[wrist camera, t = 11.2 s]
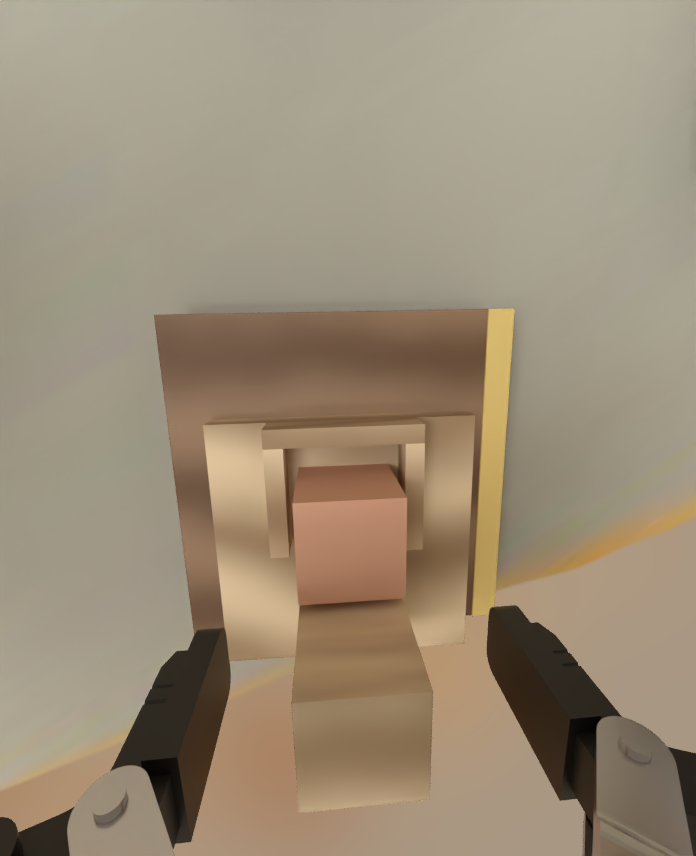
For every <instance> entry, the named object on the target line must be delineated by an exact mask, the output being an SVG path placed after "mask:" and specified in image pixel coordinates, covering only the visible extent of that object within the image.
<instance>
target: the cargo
mask: <svg viewBox="0 0 696 856" xmlns="http://www.w3.org/2000/svg"><path fill="white" fill-rule="evenodd" d="M292 506H293V523H294V541H295V559H296V576H297V594H298V605H312V604H327V603H343V602H358V601H373V600H388V599H403V598H406V553H407V497H406V495H405V493H404V491H403V490H402V488H401V486H400V484H399V483H398V481H397V479H396V477H395V476H394V474H393V472H392V470H391V469H390V467H389V465H388V463H387V464H363V465H340V466H316V467H299V470H298V476H297V481H296V486H295V492H294V497H293V503H292Z"/></svg>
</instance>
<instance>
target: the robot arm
mask: <svg viewBox="0 0 696 856" xmlns="http://www.w3.org/2000/svg"><path fill="white" fill-rule="evenodd" d="M487 657H488V662H489V665H490V668H491V671H492V673H493V675H494V677H495V679H496V681H497V683H498V685H499V687H500V688H501V690H502V692H503V694H504V696H505V698H506V700H507V702H508V703H509V705H510V707H511V709H512V711H513V713H514V715H515V717H516V719H517V720H518V722H519V724H520V726H521V728H522V730H523V732H524V734H525V736H526V737H527V739H528V741H529V743H530V745H531V747H532V749H533V751H534V753H535V754H536V756H537V758H538V760H539V762H540V764H541V766H542V767H543V769H544V771H545V773H546V775H547V777H548V779H549V781H550V783H551V785H552V787H553V788H554V790H555V792H556V794H557V796H558V798H559V800H569V799H578V801H579V803H580V804H581V806H582V808H583V810H584V811H585V813H584V821H583V853H582V856H696V753H691V752H687V751H682V750H678V749H673V748H670V747H667V746H666V745H665V743H664V742H663V741H662V740H661V739H660V738H659V737H658V736H656V735H655V734H654V733H653V732H652V731H650V730H649V729H647V728H646V727H644V726H643V725H641V724H639V723H637V722H635V721H633V720H630V719H627V718H624V717H622V716H621V715H620V714H619V713H618V711H617V710H616V709H615V708H614V707H613V705H612V704H611V703H610V702H609V701H608V699H607V698H606V697H605V696H604V694H603V693H602V692H601V691H600V689H599V688H598V687H597V686H596V685H595V683H594V682H593V681H592V680H591V679H590V677H589V676H588V675H587V674H586V672H585V671H584V670H583V669H582V667H581V666H578V662H577V661H576V660H575V659H574V658H573V656H572V655H571V654H570V653H568V652H567V649H566V648H565V647H564V645H563V644H562V643H561V642H560V640H559V639H558V638H557V637H556V636H555V635H554V634H553V633H552V632H550V631H549V630H547V629H546V628H545V627H543V626H542V625H541V624H539V623H530V622H529V620H528V619H527V618H526V616H525V615H524V614H523V612H522V611H521V610H520V609H519V607H517V606H515V605H514V606H501V607H491V608H490V610H489V621H488V637H487ZM230 678H231V674H230V663H229V654H228V646H227V637H226V631H225V628H213V629H201V630H197V631H196V633H195V635H194V637H193V640H192V642H191V644H190V647H189V649H188V651H176V652H175V654H174V655H173V656H172V657H171V658H170V659H169V660H168V661H167V662H166V663H165V664H164V665H163V666H162V667H161V669H160V671H159V673H158V675H157V677H156V679H155V681H154V684H153V686H152V689H151V690H150V692H149V694H148V696H147V698H146V700H145V704H144V705H143V706H142V708H141V710H140V712H139V714H138V716H137V718H136V720H135V722H134V724H133V727H132V729H131V731H130V733H129V735H128V737H127V739H126V741H125V743H124V745H123V747H122V749H121V751H120V753H119V755H118V757H117V759H116V761H115V763H114V765H113V767H112V769H111V771H110V772H108V773H107V774H105V775H103V776H102V777H101V778H99V779H98V780H97V781H95V782H94V783H93V784H92V785H91V786H90V787H89V788H88V789H87V790H86V791H85V792H84V794H83V795H82V796H81V797H80V799H79V800H78V802H77V803H76V805H75V807H73V808H72V809H70V810H68V811H66V812H64V813H62V814H60V815H58V816H56V817H53V818H51V819H49V820H46V821H44V822H42V823H39V824H37V825H35V826H33V827H30V828H28V829H25V830H23V831H21V832H18V830H17V827H16V824H15V823H14V822H13V821H12V820H11V819H9V818H4V817H0V856H175V854H174V851H173V849H174V845H175V844H176V843H184V842H191V840H192V836H193V832H194V828H195V824H196V820H197V816H198V812H199V809H200V805H201V801H202V797H203V793H204V789H205V785H206V781H207V777H208V773H209V769H210V766H211V762H212V758H213V754H214V750H215V746H216V742H217V739H218V735H219V731H220V727H221V723H222V719H223V715H224V711H225V707H226V703H227V700H228V696H229V690H230Z"/></svg>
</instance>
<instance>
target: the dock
mask: <svg viewBox="0 0 696 856" xmlns="http://www.w3.org/2000/svg"><path fill="white" fill-rule="evenodd" d="M514 311H515V309H471V310H412V311H352V312H293V313H233V314H173V315H154V319H155V327H156V335H157V343H158V351H159V359H160V367H161V375H162V383H163V391H164V399H165V406H166V414H167V422H168V430H169V438H170V446H171V454H172V462H173V470H174V478H175V486H176V493H177V501H178V509H179V517H180V525H181V533H182V541H183V549H184V557H185V565H186V573H187V581H188V588H189V596H190V604H191V612H192V620H193V628H194V634H195V633H196V631H197V630H201V629H213V628H225V627H224V617H223V608H222V599H221V589H220V580H219V571H218V561H217V552H216V543H215V534H214V524H213V515H212V506H211V496H210V487H209V478H208V468H207V459H206V450H205V440H204V431H203V425H204V424H205V423H207V422H208V421H210V420H223V419H251V418H279V417H308V416H336V415H364V414H392V413H421V412H449V411H467V412H469V413H471V414H474V415H475V434H474V454H473V474H472V495H471V515H470V535H469V556H468V576H467V596H466V615H472V616H483V615H489V610H490V608H491V607H494V602H495V588H496V574H497V559H498V545H499V530H500V515H501V501H502V486H503V471H504V457H505V442H506V428H507V413H508V398H509V384H510V369H511V354H512V340H513V325H514Z"/></svg>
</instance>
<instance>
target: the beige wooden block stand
mask: <svg viewBox="0 0 696 856" xmlns="http://www.w3.org/2000/svg"><path fill="white" fill-rule="evenodd" d="M203 431H204V440H205V450H206V459H207V468H208V478H209V487H210V496H211V506H212V515H213V524H214V534H215V543H216V552H217V561H218V571H219V580H220V589H221V599H222V608H223V617H224V627H225V631H226V637H227V646H228V654H229V661H240V660H253V659H267V658H280V657H293V656H295V666H294V678H293V691H292V703H291V704H292V719H293V735H294V749H295V764H296V779H297V794H298V808H299V813H303V812H312V811H322V810H332V809H341V808H351V807H361V806H371V805H380V804H391V803H401V802H411V801H420V800H429V799H430V776H431V741H432V739H431V738H432V708H433V690H432V687H431V684H430V681H429V678H428V675H427V672H426V668H425V666H424V662H423V659H422V656H421V653H420V650H419V647H425V646H438V645H452V644H463V643H464V637H465V636H464V635H465V616H466V596H467V576H468V556H469V535H470V515H471V495H472V474H473V454H474V434H475V415H474V414H471V413H469V412H467V411H449V412H421V413H392V414H364V415H336V416H308V417H279V418H251V419H223V420H210V421H208V422H207V423H205V424H204V425H203ZM387 463H388V465H389V467H390V469H391V470H392V472H393V474H394V476H395V477H396V479H397V481H398V483H399V484H400V486H401V488H402V490H403V491H404V493H405V495H406V497H407V553H406V598H403V599H388V600H373V601H358V602H343V603H327V604H312V605H298V594H297V576H296V559H295V541H294V523H293V506H292V503H293V497H294V492H295V486H296V481H297V476H298V470H299V467H316V466H340V465H363V464H387Z"/></svg>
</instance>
